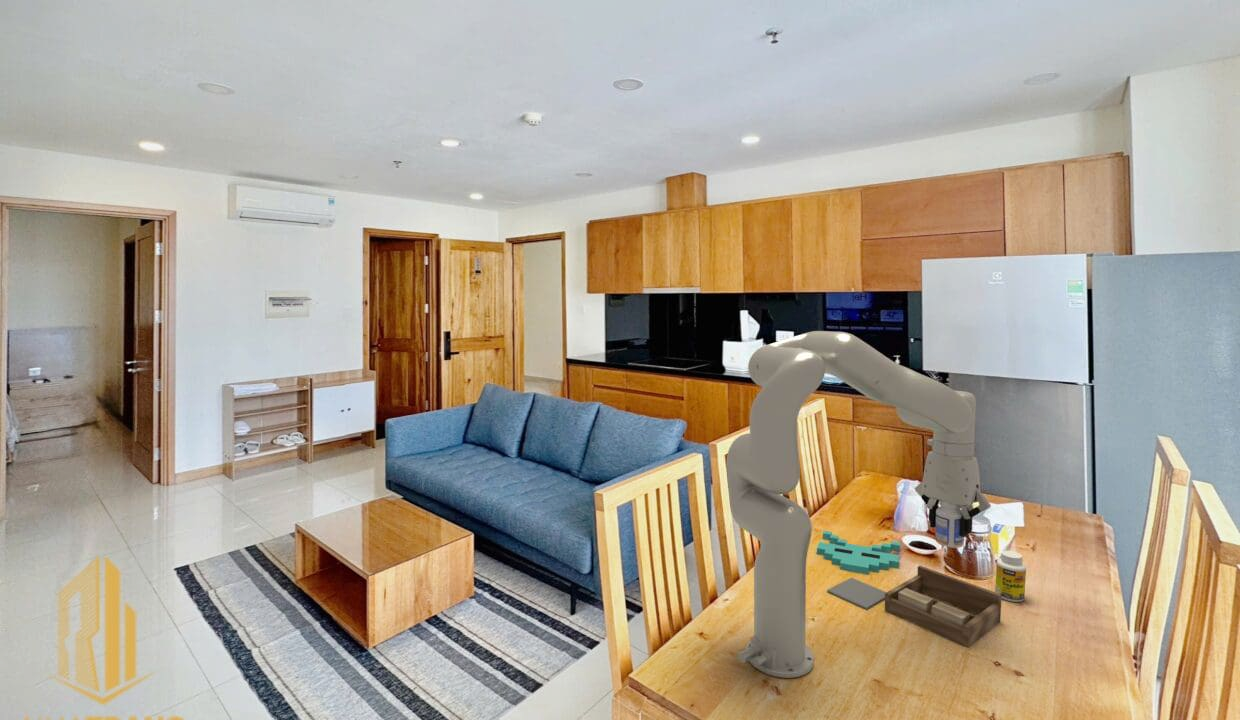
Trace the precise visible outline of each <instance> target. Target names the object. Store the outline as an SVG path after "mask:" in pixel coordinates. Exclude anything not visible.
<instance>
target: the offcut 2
mask: <svg viewBox="0 0 1240 720" xmlns="http://www.w3.org/2000/svg"><path fill="white" fill-rule="evenodd" d="M941 602H942V601H941ZM941 602H938V603H936V604H934V605H933V606H932V615H933V616H936V617H938V618H941V619H943V620H945V621H948V622H950V623H952V624H955V625H957V626H960V627H962V628H963V625H965V624H966V623H967V622H969V618H970V614H969V613H970V612H968V611H966V612H964V611H965V610H963V609H961V610H959V609H960V608H958V607H956V608H954V607H955V606H953V605H951V606H949V605H950V604H948V605H946V604H947V603H946V604H944V603H945V602H943V603H941ZM952 606H953V607H952ZM957 608H958V609H957ZM962 610H963V611H962ZM967 612H968V613H967Z"/></svg>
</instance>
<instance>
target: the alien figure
mask: <svg viewBox="0 0 1240 720" xmlns="http://www.w3.org/2000/svg"><path fill="white" fill-rule="evenodd" d="M822 540H826V541H829V543H828V542H822V541H819V542H818V545H817V547H816V555H819V556H823V559H824V560H827V561H831V564H832V565H835V566H839V570H841V571H847V572H852V573H857V574H861V575H862V574H863V575H867V576H868V575H870V574H869V573H870V572H872V573H873V572H874V573H879V572H880V570H883V571H889V570H890V569H889V568H893V569H897V570H898V569H899V568H900V567H899V566H900V555H899V554H893V553H891V551H892V552H898V553H899V552H900V551H901V542H899V541H893V540H891V541H890V543H888V542H887V543H886V542H881V545H877V544H872V546H865V545H861V544H859V545H858V544H854V543H848V540H847V539H843V538H842V539H841V538H840V535H837V534H835V535H834V534H833V531H830V530H823V533H822Z"/></svg>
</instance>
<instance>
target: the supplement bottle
mask: <svg viewBox="0 0 1240 720" xmlns="http://www.w3.org/2000/svg"><path fill="white" fill-rule="evenodd" d="M1026 575H1027V566H1026V564H1025V563H1023V555H1022V554H1020V553H1019V552H1017V551H1012V550H1002V551H1001V553H1000V558H998V559H997V560H996V570H995V585H994V586H995V588H994V590H995V591H994V592H995V593H998V594H1001V600H1005V601H1009V602H1011V603H1020V602H1023V601H1024V600H1025V597H1026V596H1025V594H1026V578H1027V576H1026Z"/></svg>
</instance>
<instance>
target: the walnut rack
mask: <svg viewBox="0 0 1240 720" xmlns="http://www.w3.org/2000/svg"><path fill="white" fill-rule="evenodd" d="M905 588H906V589H909V590H911V591H914V592H916V593H919V594H922V595H924V596H927V597H929V598H932V599H933V605H934V604H936V603H938V602H941V603H944V604H946V605H949V606H952V607H954V608H957V609H959V610H962V611H964V612H967V613H969V614H970V618H969V622H967V623H966V624H965V625H963V628H962V627H960V626H957V625H955V624H952V623H950V622H948V621H945V620H943V619H941V618H938V617H936V616H933V615H931V614H929V613H926V612H924V611H922V610H919V609H917V608H914V607H912V606H910V605H907V604H905V603H903V602H900V601H898V592H900V591H901V590H903V589H905ZM885 592H886V593H885V600H884V611H885V612H886V613H887V612H888V613H889V614H892V615H895V616H897V617H898V618H900V619H904V620H905V621H907V622H910V623H912V624H914V625H916V626H918V627H921V628H924V629H925V630H928V631H930V632H933V633H935V634H937V635H939V636H941V637H943V638H946V639H947V640H951V641H953V642H954V643H957V644H959V645H962V646H964V647H966V648H969V647H971V645H973V644H974V643H975V642H976V641H978V640H980V639H981V637H983V636H984V635H986V634H987V633H988V632H989V631H991V630H992V629H993V628H995V627H996V626H997V625H998V624H999V623H1000V622H1001V618H1002V617H1001V616H1002V615H1001V613H1002V612H1001V611H1002V598H1001V594H998V593H996V592H995V591H992V590H990V589H986V588H984V587H982V586H979V585H975V584H972V583H969V582H967V581H964V580H962V579H958V578H956V577H954V576H950V575H949V574H945V573H943V572H939V571H937V570H934V569H931V568H928V567H926V566H922V565H918V566H917V574H916V575H915V576H913V577H911V578H909V579H907V580H906V581H904V582H902V583H901V584H899V585H897V586H895V587H894V588H891V589H890V590H888V591H885Z"/></svg>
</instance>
